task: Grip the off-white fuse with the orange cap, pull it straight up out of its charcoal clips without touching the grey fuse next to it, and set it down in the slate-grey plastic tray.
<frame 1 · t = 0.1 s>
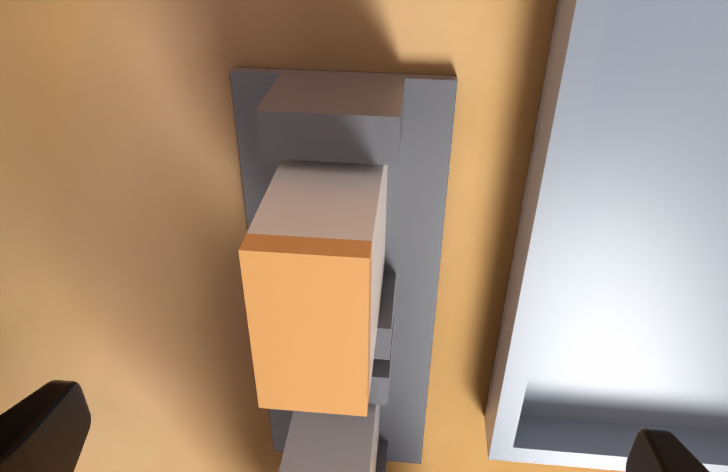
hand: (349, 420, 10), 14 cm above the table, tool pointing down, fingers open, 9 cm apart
tray: (725, 237, 24), on the table
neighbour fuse: (345, 393, 30), resting on clip block
clip block: (344, 194, 24), on the table
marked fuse: (343, 200, 24), resting on clip block
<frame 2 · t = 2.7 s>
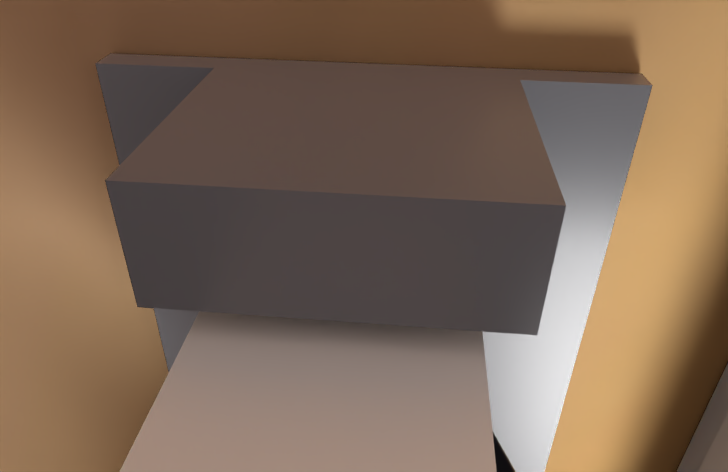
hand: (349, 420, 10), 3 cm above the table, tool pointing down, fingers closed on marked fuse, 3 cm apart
clip block: (364, 317, 12), on the table
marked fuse: (361, 334, 11), resting on clip block, touching gripper
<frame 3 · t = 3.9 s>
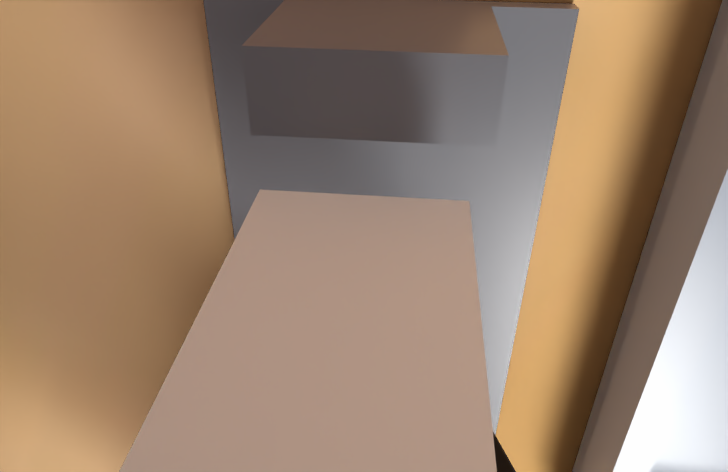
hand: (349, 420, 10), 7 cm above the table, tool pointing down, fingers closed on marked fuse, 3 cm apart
clip block: (382, 196, 16), on the table
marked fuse: (361, 333, 11), point 5 cm above the table, touching gripper
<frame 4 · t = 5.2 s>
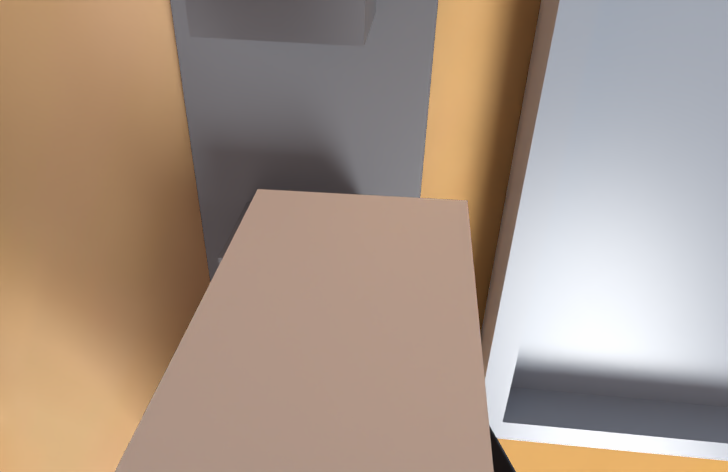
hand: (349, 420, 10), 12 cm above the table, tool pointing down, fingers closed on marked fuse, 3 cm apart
clip block: (307, 111, 20), on the table
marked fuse: (360, 333, 11), point 10 cm above the table, touching gripper
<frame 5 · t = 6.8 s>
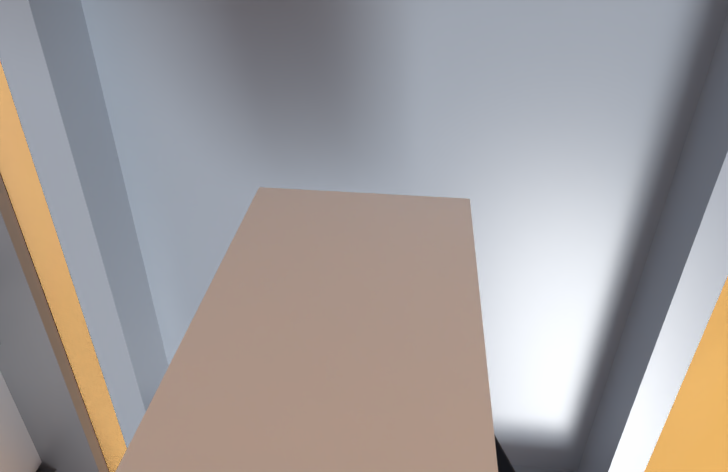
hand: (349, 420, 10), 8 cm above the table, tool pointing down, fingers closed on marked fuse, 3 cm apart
tray: (385, 185, 16), on the table
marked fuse: (361, 332, 11), point 6 cm above the table, touching gripper
when the fingers open (4 cm above the table, at t = 8.1 s): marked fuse drops 2 cm, resting on tray.
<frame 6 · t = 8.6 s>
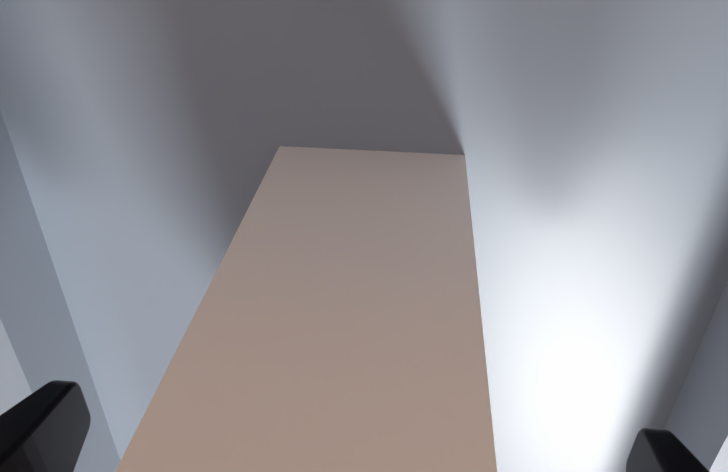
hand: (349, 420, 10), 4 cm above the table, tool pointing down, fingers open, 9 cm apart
tray: (372, 266, 13), on the table
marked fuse: (369, 281, 13), point 1 cm above the table, touching tray
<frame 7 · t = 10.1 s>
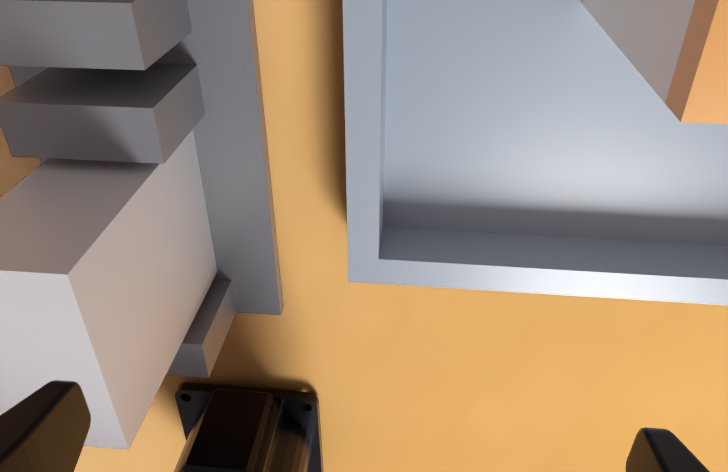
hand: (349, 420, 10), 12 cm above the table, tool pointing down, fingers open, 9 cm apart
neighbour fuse: (159, 201, 21), resting on clip block
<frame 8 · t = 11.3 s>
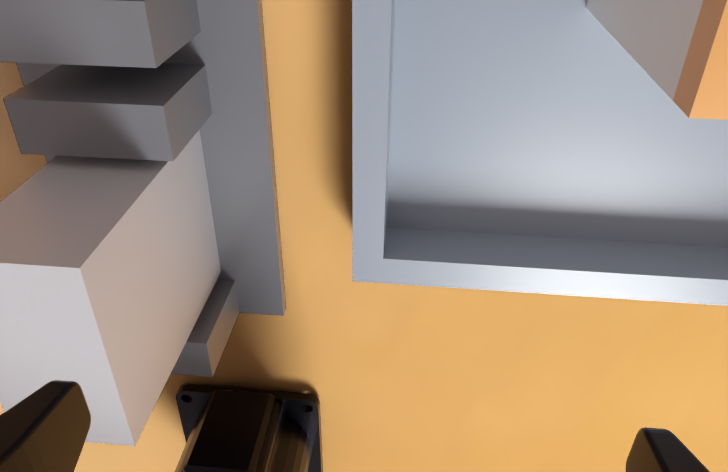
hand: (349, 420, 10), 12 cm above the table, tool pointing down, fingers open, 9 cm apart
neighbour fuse: (164, 201, 22), resting on clip block
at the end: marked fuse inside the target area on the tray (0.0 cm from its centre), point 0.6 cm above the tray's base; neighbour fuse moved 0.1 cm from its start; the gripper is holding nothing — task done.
